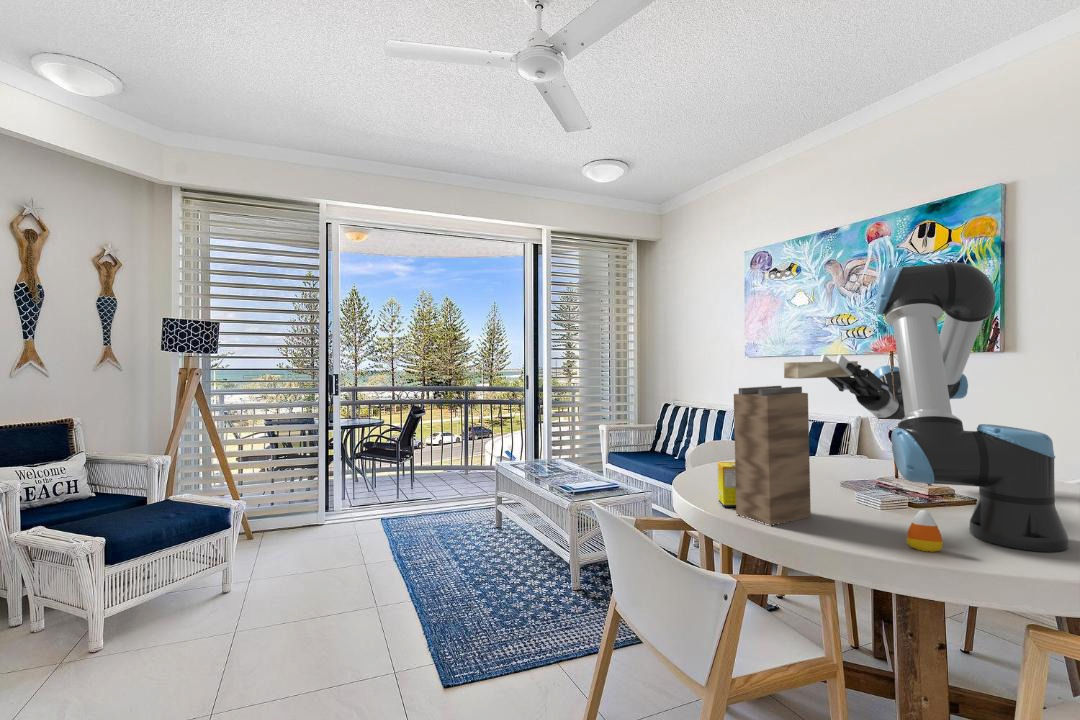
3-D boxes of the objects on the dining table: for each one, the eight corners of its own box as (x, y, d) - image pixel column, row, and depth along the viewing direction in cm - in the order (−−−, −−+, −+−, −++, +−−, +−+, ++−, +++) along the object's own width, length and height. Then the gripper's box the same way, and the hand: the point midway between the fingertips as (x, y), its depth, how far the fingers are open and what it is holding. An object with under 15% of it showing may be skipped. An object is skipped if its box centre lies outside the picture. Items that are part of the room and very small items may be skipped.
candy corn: (941, 549, 104) (940, 509, 104) (945, 554, 102) (944, 513, 102) (905, 545, 107) (904, 506, 107) (907, 550, 104) (907, 510, 104)
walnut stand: (810, 516, 127) (807, 386, 127) (770, 526, 120) (767, 389, 120) (775, 506, 136) (772, 385, 136) (736, 515, 129) (733, 387, 129)
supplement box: (740, 501, 141) (739, 461, 141) (747, 508, 135) (746, 466, 135) (717, 501, 142) (717, 461, 142) (723, 508, 136) (722, 466, 136)
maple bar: (857, 376, 141) (857, 361, 141) (798, 378, 130) (797, 362, 130) (843, 375, 145) (843, 361, 145) (784, 378, 134) (784, 362, 134)
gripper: (905, 413, 140) (857, 371, 131) (843, 408, 155) (796, 371, 146) (912, 388, 141) (866, 345, 132) (850, 386, 157) (805, 347, 147)
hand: (829, 359), depth 139 cm, fingers closed on maple bar, 4 cm apart
